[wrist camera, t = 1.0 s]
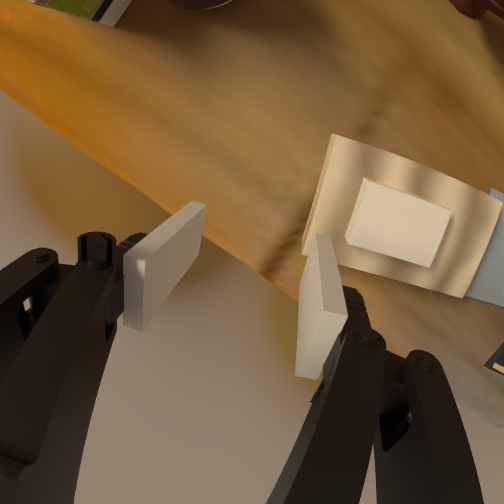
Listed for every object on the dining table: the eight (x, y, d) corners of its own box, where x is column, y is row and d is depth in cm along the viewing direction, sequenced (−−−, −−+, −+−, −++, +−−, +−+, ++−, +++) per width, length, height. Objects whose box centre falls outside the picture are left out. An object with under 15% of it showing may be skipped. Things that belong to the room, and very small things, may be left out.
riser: (485, 193, 29) (503, 202, 25) (450, 282, 33) (462, 298, 30) (331, 133, 30) (336, 134, 26) (301, 240, 34) (301, 254, 31)
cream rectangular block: (443, 205, 26) (452, 211, 25) (422, 259, 29) (429, 267, 27) (363, 177, 27) (368, 180, 25) (344, 236, 29) (347, 243, 28)
